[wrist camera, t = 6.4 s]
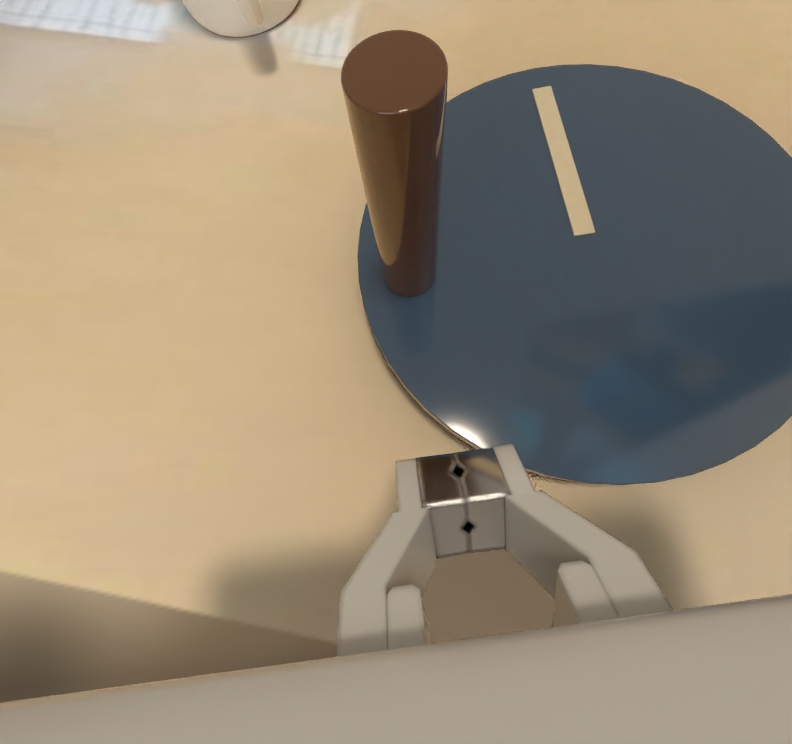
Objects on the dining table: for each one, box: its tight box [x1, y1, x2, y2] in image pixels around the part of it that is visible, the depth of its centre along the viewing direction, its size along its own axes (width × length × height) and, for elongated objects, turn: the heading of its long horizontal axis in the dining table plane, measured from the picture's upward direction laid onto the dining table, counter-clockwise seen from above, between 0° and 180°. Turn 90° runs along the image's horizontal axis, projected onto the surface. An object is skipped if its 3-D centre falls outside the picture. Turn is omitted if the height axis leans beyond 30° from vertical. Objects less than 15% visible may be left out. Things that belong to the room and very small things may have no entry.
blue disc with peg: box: [341, 30, 792, 485], centre depth 15 cm, size 22×22×11 cm
